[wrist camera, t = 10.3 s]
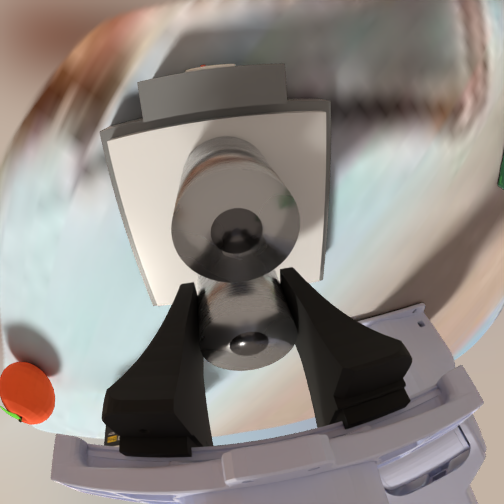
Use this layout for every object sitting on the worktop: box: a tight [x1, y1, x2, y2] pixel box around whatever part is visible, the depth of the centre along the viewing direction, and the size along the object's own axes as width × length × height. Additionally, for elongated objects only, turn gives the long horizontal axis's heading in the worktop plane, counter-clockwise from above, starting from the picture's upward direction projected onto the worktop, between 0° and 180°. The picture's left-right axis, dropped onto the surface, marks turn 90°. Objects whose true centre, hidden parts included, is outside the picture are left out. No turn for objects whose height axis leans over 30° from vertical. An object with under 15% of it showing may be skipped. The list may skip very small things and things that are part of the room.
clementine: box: [0, 362, 55, 424], centre depth 19 cm, size 8×7×7 cm
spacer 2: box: [197, 269, 297, 371], centre depth 13 cm, size 4×4×5 cm
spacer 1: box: [171, 136, 300, 283], centre depth 11 cm, size 4×4×5 cm
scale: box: [100, 64, 331, 306], centre depth 14 cm, size 11×13×3 cm
